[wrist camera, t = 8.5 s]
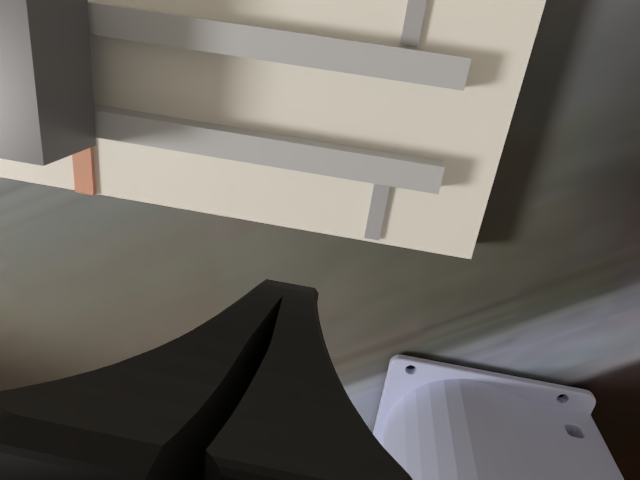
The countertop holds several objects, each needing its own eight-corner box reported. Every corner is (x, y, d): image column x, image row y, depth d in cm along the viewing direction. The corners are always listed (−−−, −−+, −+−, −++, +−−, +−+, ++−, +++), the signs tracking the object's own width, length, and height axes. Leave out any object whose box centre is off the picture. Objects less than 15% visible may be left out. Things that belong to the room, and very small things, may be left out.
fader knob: (103, -3, 17) (21, -12, 13) (110, 139, 19) (40, 167, 15) (-5, -19, 17) (-116, -32, 13) (14, 123, 19) (-79, 146, 15)
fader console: (539, -21, 16) (563, -29, 14) (465, 244, 21) (474, 270, 18) (-63, -102, 18) (-128, -121, 16) (-20, 160, 22) (-67, 175, 20)
